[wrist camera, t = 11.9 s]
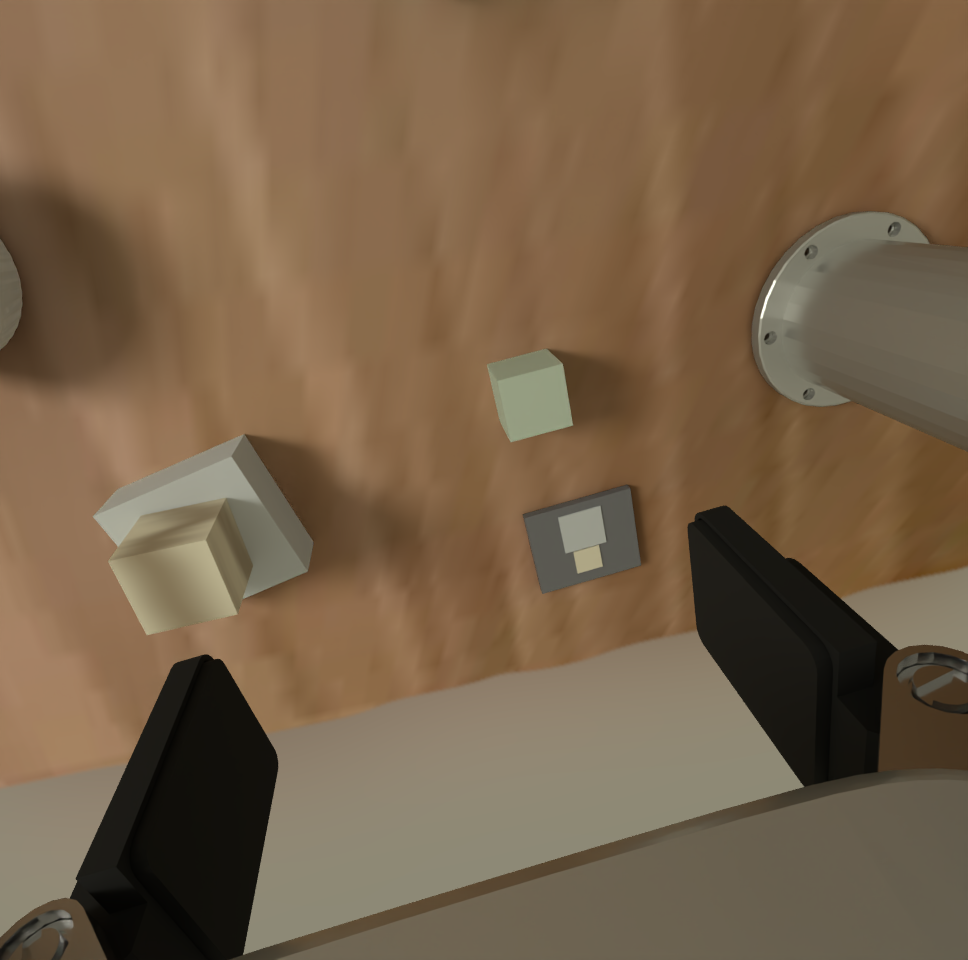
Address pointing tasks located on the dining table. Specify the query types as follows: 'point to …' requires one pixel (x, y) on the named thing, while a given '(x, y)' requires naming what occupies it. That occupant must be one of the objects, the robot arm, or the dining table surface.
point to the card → (583, 538)
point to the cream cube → (183, 566)
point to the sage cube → (530, 394)
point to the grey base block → (251, 497)
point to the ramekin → (9, 296)
